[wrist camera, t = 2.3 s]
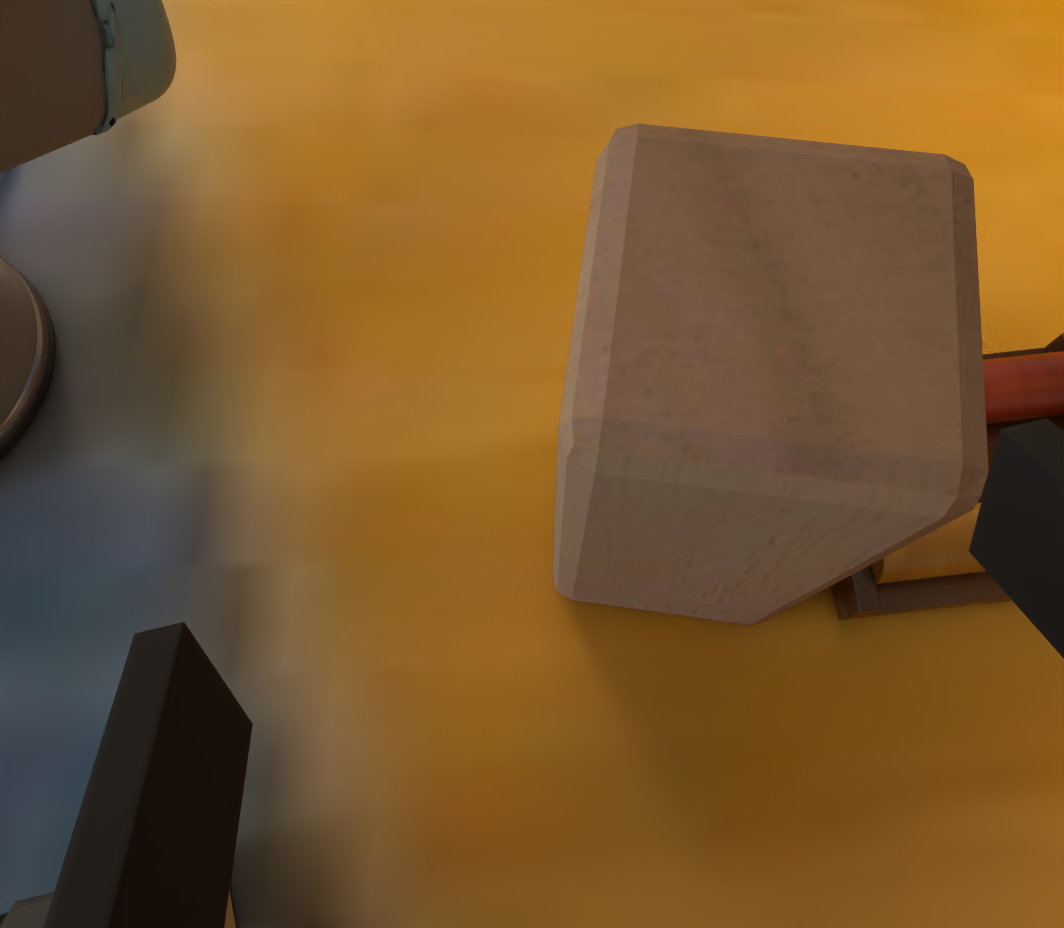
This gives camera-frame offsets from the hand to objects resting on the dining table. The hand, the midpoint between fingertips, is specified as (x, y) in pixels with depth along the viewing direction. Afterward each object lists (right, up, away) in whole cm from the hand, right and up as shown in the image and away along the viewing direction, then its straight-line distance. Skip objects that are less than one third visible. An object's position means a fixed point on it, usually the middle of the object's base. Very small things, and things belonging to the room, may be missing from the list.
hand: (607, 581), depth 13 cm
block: (+5, 0, +25) cm, 26 cm away
